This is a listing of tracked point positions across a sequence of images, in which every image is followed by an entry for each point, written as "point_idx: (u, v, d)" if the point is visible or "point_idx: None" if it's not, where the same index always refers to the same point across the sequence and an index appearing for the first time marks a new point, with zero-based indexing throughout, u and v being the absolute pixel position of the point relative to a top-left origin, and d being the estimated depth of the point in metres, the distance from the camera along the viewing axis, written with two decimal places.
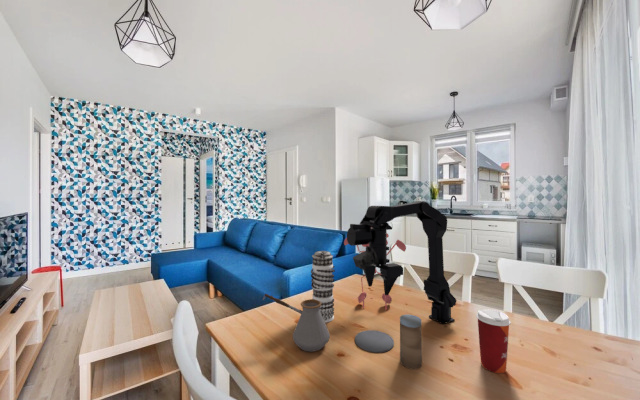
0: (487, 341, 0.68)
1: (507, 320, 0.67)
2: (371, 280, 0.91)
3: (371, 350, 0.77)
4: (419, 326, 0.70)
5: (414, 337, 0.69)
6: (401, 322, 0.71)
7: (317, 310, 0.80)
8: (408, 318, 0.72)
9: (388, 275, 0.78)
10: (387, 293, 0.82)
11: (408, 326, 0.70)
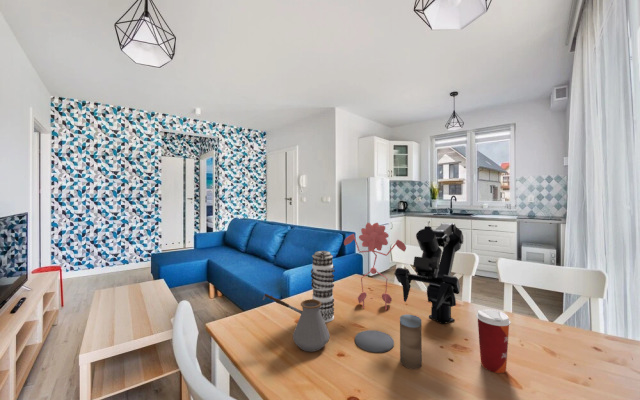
0: (487, 341, 0.68)
1: (507, 320, 0.67)
2: (407, 296, 0.83)
3: (371, 350, 0.77)
4: (419, 326, 0.70)
5: (414, 337, 0.69)
6: (401, 322, 0.71)
7: (317, 310, 0.80)
8: (408, 318, 0.72)
9: (456, 283, 0.76)
10: (437, 307, 0.76)
11: (408, 326, 0.70)
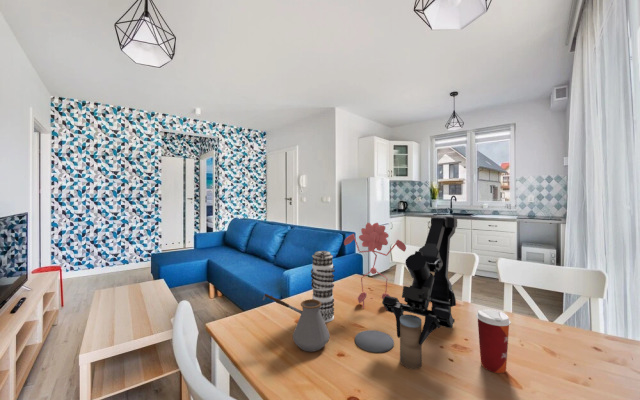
0: (487, 341, 0.68)
1: (507, 320, 0.67)
2: None
3: (371, 350, 0.77)
4: (419, 326, 0.70)
5: (414, 337, 0.69)
6: (401, 322, 0.71)
7: (317, 310, 0.80)
8: (408, 318, 0.72)
9: (448, 318, 0.68)
10: (422, 342, 0.69)
11: (408, 326, 0.70)
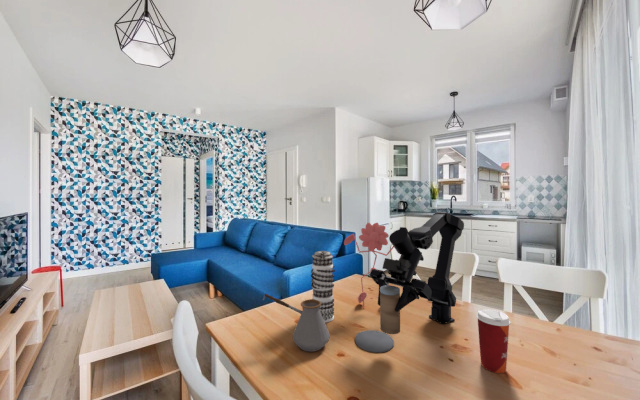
0: (487, 341, 0.68)
1: (507, 320, 0.67)
2: None
3: (371, 350, 0.77)
4: (396, 294, 0.74)
5: (391, 304, 0.74)
6: (380, 290, 0.77)
7: (317, 310, 0.80)
8: (388, 288, 0.77)
9: (422, 287, 0.71)
10: (398, 309, 0.74)
11: (385, 294, 0.75)
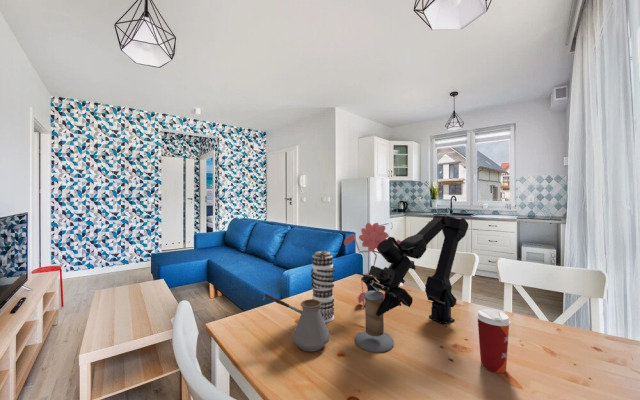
0: (487, 341, 0.68)
1: (507, 320, 0.67)
2: None
3: (371, 350, 0.77)
4: (377, 300, 0.80)
5: (372, 308, 0.80)
6: (365, 295, 0.83)
7: (317, 310, 0.80)
8: (372, 293, 0.83)
9: (400, 295, 0.76)
10: (379, 314, 0.79)
11: (368, 299, 0.81)
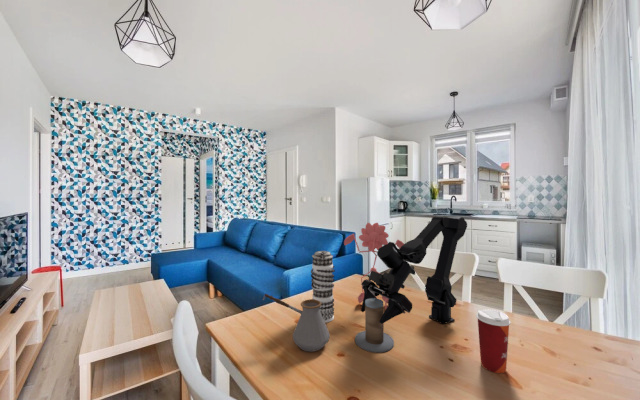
0: (487, 341, 0.68)
1: (507, 320, 0.67)
2: None
3: (371, 350, 0.77)
4: (377, 308, 0.80)
5: (372, 316, 0.80)
6: (365, 303, 0.83)
7: (317, 310, 0.80)
8: (372, 301, 0.83)
9: (400, 301, 0.76)
10: (382, 321, 0.78)
11: (368, 307, 0.81)
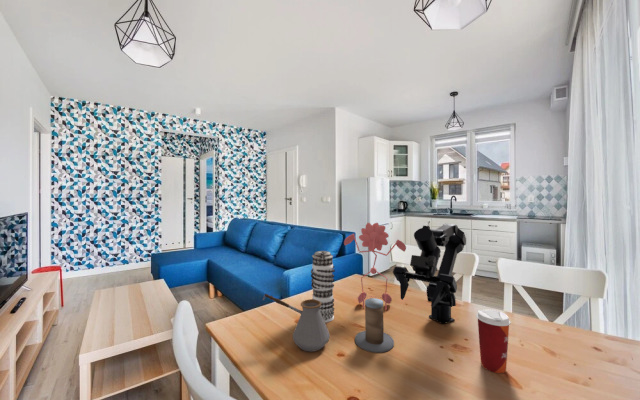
0: (487, 341, 0.68)
1: (507, 320, 0.67)
2: (404, 294, 0.84)
3: (371, 350, 0.77)
4: (377, 308, 0.80)
5: (372, 316, 0.80)
6: (365, 303, 0.83)
7: (317, 310, 0.80)
8: (372, 301, 0.83)
9: (452, 281, 0.76)
10: (433, 305, 0.77)
11: (368, 306, 0.81)
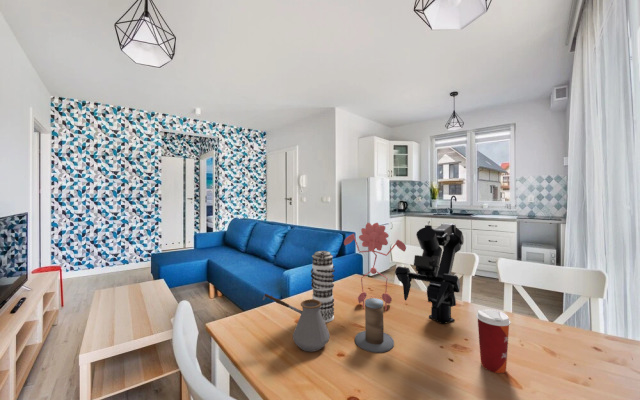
0: (487, 341, 0.68)
1: (507, 320, 0.67)
2: (407, 294, 0.83)
3: (371, 350, 0.77)
4: (377, 308, 0.80)
5: (372, 316, 0.80)
6: (365, 303, 0.83)
7: (317, 310, 0.80)
8: (372, 301, 0.83)
9: (456, 281, 0.76)
10: (438, 305, 0.76)
11: (368, 306, 0.81)
